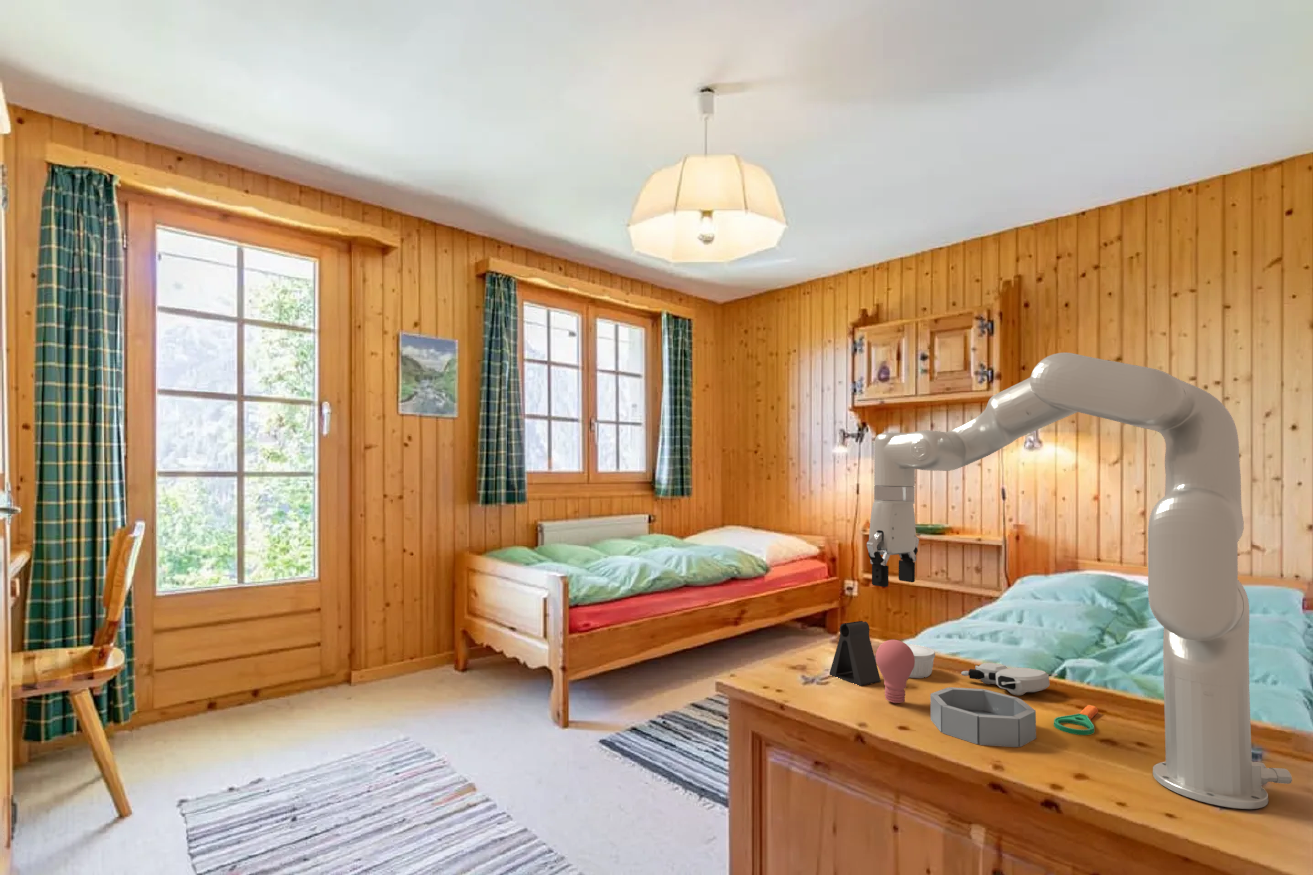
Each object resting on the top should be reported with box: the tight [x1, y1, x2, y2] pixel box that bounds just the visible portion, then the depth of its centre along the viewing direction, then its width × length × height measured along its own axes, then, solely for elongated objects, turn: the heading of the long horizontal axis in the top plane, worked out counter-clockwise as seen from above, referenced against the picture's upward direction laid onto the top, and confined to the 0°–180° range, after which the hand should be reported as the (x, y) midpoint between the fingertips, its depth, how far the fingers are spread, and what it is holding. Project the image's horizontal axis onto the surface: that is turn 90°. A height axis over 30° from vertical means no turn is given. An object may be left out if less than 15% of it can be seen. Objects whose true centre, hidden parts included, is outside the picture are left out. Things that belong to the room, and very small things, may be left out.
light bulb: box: [875, 639, 915, 704], centre depth 129 cm, size 7×7×12 cm
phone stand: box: [829, 620, 881, 687], centre depth 144 cm, size 9×6×12 cm, turn 31°
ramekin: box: [906, 643, 936, 679], centre depth 150 cm, size 11×11×5 cm
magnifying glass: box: [1053, 704, 1099, 736], centre depth 120 cm, size 15×6×2 cm, turn 133°
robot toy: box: [960, 662, 1058, 696], centre depth 140 cm, size 12×4×15 cm
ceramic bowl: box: [930, 686, 1037, 748], centre depth 116 cm, size 15×15×4 cm
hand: (893, 583), depth 130 cm, fingers open, 9 cm apart
